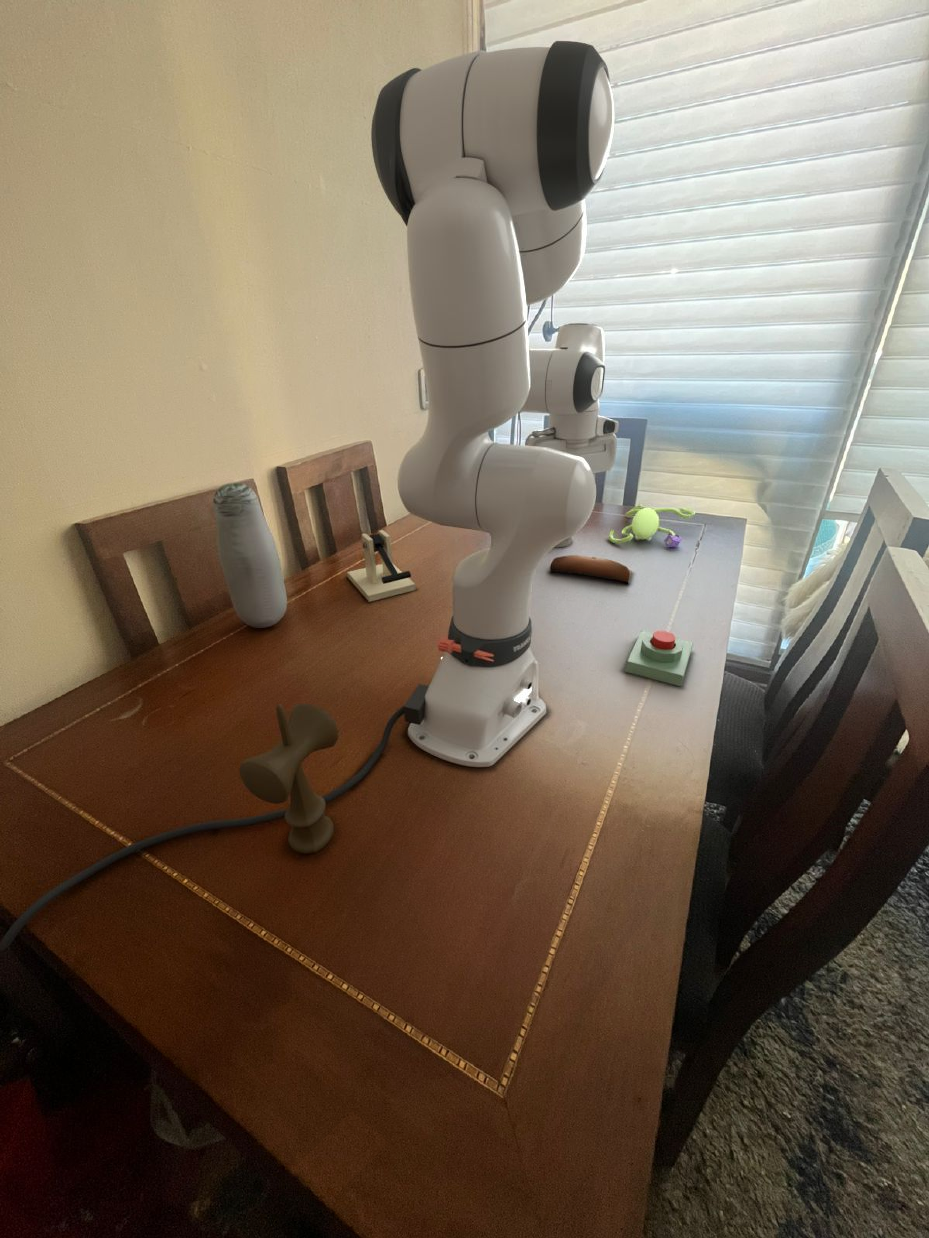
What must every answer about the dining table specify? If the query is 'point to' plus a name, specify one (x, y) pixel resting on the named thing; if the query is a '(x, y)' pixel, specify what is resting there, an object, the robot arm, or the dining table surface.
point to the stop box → (659, 660)
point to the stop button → (663, 640)
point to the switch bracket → (377, 573)
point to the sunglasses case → (591, 567)
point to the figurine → (650, 525)
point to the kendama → (295, 775)
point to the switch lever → (387, 561)
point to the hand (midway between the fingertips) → (566, 499)
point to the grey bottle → (249, 557)
